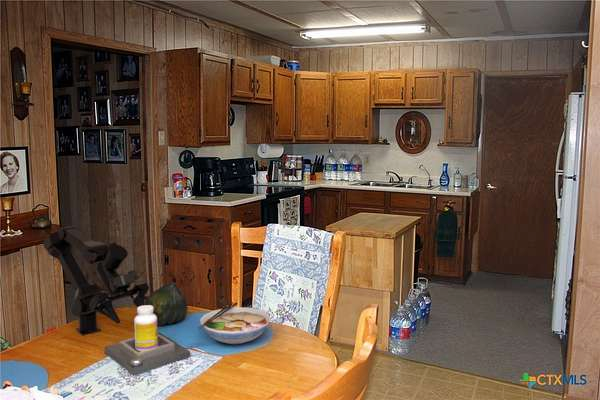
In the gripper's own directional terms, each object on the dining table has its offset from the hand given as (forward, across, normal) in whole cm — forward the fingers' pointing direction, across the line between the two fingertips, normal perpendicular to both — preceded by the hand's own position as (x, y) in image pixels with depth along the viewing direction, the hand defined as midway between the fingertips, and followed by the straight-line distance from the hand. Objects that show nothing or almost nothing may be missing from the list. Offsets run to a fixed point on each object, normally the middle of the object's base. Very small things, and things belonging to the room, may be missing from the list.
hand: (132, 318), depth 164 cm
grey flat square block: (+12, 0, +2) cm, 12 cm away
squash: (-1, +22, +15) cm, 26 cm away
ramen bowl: (+21, +25, -7) cm, 34 cm away
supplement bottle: (+10, 0, +1) cm, 11 cm away
